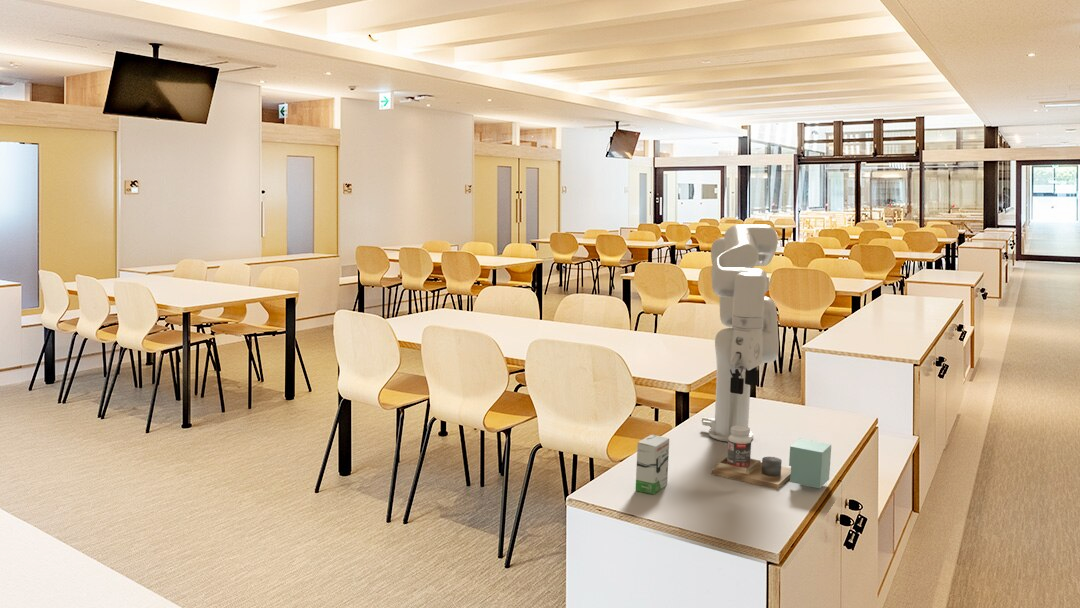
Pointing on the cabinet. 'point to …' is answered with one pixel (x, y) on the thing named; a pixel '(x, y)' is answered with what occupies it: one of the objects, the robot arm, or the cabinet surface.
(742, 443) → the pill bottle
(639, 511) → the cabinet surface
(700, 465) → the cabinet surface
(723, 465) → the board
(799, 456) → the mint green block
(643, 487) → the ink box
